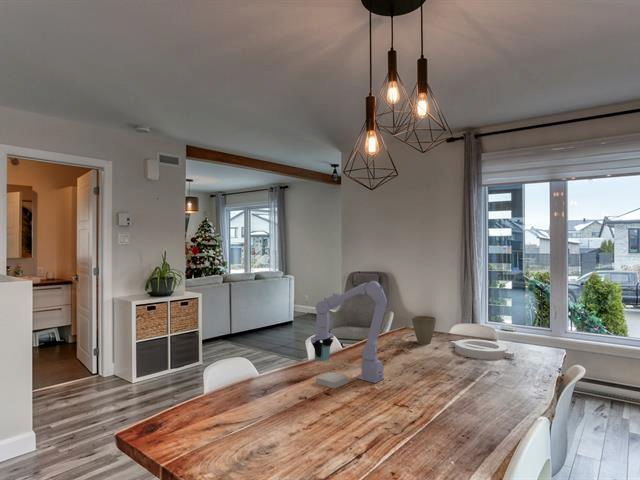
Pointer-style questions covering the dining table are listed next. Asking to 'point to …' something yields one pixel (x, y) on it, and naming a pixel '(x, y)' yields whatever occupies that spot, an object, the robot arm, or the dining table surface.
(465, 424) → the dining table surface
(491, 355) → the white circle with bar
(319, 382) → the plinth
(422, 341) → the plant pot
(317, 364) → the dining table surface
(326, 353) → the teal block
